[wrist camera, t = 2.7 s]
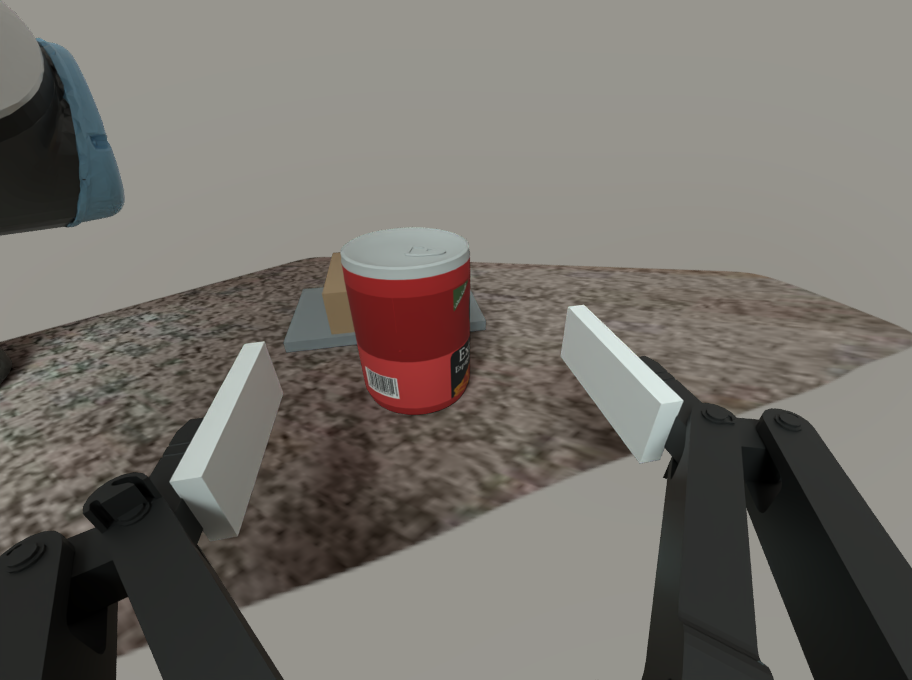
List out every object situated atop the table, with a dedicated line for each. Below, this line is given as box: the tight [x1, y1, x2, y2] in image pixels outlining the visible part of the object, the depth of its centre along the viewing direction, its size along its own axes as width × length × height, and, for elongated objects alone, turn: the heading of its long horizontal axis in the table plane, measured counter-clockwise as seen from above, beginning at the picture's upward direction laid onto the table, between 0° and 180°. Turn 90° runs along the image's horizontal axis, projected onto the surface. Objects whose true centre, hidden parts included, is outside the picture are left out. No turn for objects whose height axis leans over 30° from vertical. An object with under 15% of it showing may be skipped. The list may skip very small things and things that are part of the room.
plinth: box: [284, 252, 486, 352], centre depth 37 cm, size 18×11×5 cm, turn 100°
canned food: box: [340, 228, 470, 415], centre depth 26 cm, size 8×8×11 cm
